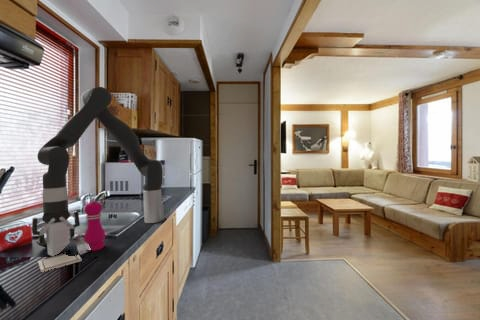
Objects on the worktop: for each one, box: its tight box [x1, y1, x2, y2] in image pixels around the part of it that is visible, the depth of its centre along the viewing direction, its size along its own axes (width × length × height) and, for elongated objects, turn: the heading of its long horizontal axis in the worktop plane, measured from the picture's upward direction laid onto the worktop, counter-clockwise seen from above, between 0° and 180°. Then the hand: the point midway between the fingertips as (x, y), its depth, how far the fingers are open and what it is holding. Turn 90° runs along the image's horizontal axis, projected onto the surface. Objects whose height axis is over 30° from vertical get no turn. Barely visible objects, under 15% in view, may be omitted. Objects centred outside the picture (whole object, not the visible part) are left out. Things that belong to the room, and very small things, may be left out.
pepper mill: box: [83, 197, 106, 252], centre depth 95 cm, size 7×7×20 cm
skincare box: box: [45, 219, 71, 257], centre depth 91 cm, size 6×4×12 cm
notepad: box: [37, 253, 83, 273], centre depth 84 cm, size 11×10×1 cm
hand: (57, 241), depth 91 cm, fingers open, 8 cm apart
